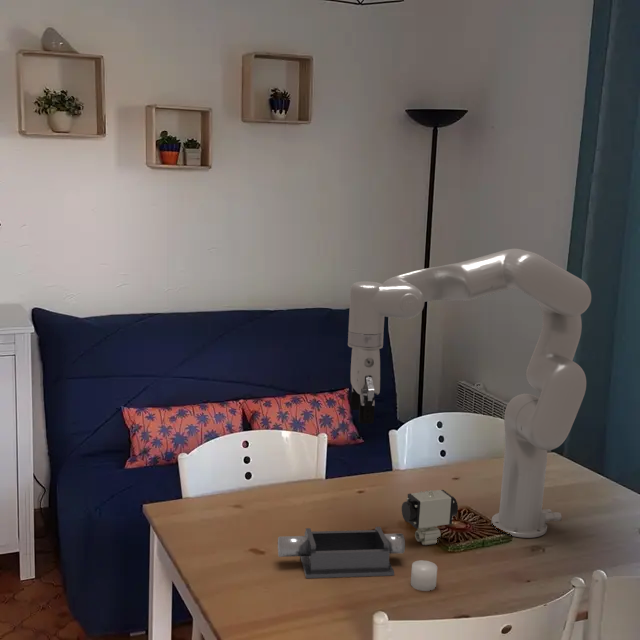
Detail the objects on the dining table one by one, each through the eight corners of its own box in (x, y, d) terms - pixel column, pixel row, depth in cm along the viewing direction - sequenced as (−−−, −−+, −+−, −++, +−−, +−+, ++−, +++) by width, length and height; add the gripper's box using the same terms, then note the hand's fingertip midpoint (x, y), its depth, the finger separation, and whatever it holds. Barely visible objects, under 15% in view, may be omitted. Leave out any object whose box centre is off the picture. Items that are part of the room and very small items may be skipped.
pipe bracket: (394, 548, 182) (396, 522, 181) (408, 574, 170) (410, 547, 169) (275, 551, 178) (276, 524, 177) (281, 579, 166) (282, 551, 165)
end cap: (431, 578, 170) (433, 560, 169) (439, 590, 165) (440, 572, 164) (407, 579, 169) (409, 560, 168) (414, 591, 164) (415, 572, 163)
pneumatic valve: (455, 543, 186) (459, 492, 184) (408, 549, 181) (412, 497, 179) (443, 532, 191) (447, 482, 189) (397, 539, 186) (400, 488, 184)
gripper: (391, 348, 172) (387, 428, 175) (374, 331, 189) (370, 404, 192) (355, 348, 171) (351, 428, 174) (341, 331, 187) (338, 404, 191)
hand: (361, 416), depth 183 cm, fingers open, 9 cm apart
